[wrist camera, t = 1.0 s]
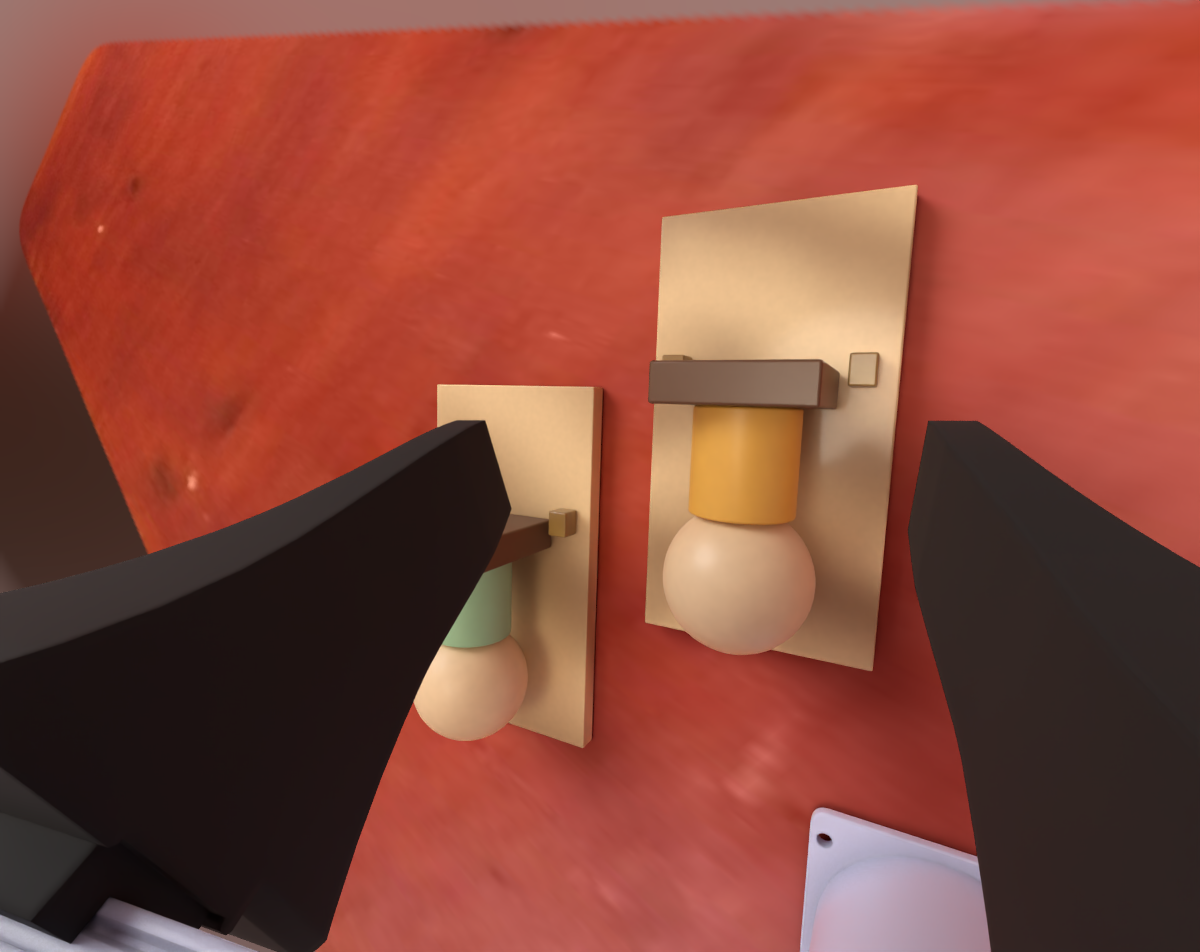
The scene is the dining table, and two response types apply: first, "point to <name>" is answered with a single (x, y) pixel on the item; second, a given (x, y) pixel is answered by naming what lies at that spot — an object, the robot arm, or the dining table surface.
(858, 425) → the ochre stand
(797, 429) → the ochre toy
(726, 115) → the dining table surface
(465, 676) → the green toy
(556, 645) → the thin cream rectangular board
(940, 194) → the dining table surface
